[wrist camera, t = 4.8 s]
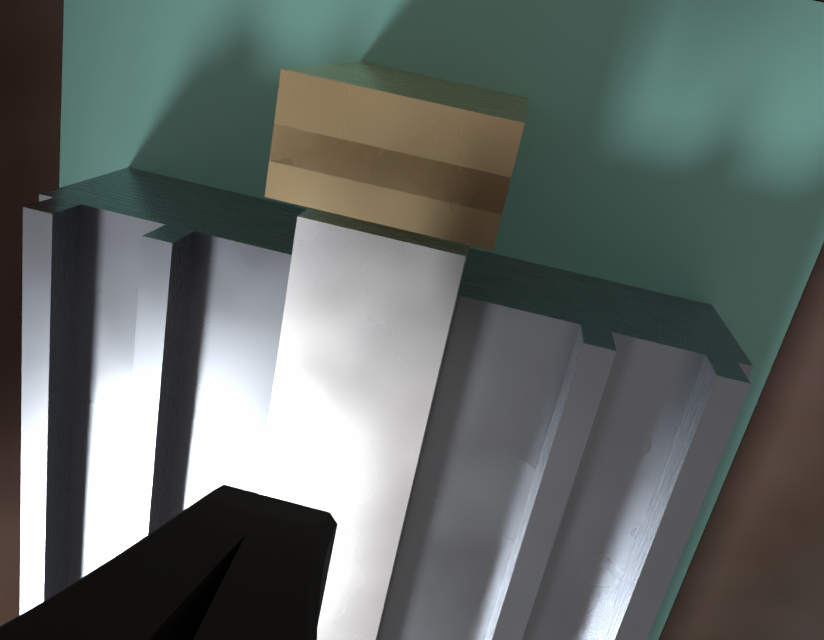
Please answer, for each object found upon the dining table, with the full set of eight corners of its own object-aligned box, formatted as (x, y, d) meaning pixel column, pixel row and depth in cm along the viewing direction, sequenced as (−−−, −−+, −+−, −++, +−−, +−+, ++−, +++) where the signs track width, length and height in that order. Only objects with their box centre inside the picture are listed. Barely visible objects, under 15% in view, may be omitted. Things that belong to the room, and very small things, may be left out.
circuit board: (56, 753, 23) (44, 770, 22) (86, -144, 14) (68, -152, 14) (541, 898, 22) (541, 920, 21) (899, 22, 13) (915, 20, 12)
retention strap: (327, 850, 17) (317, 887, 16) (220, 819, 17) (206, 854, 16) (469, 241, 11) (465, 255, 11) (312, 204, 12) (297, 216, 11)
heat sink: (99, 664, 20) (-20, 831, 16) (137, 11, 14) (-36, -2, 10) (532, 788, 20) (531, 1001, 15) (768, 151, 14) (880, 202, 9)
